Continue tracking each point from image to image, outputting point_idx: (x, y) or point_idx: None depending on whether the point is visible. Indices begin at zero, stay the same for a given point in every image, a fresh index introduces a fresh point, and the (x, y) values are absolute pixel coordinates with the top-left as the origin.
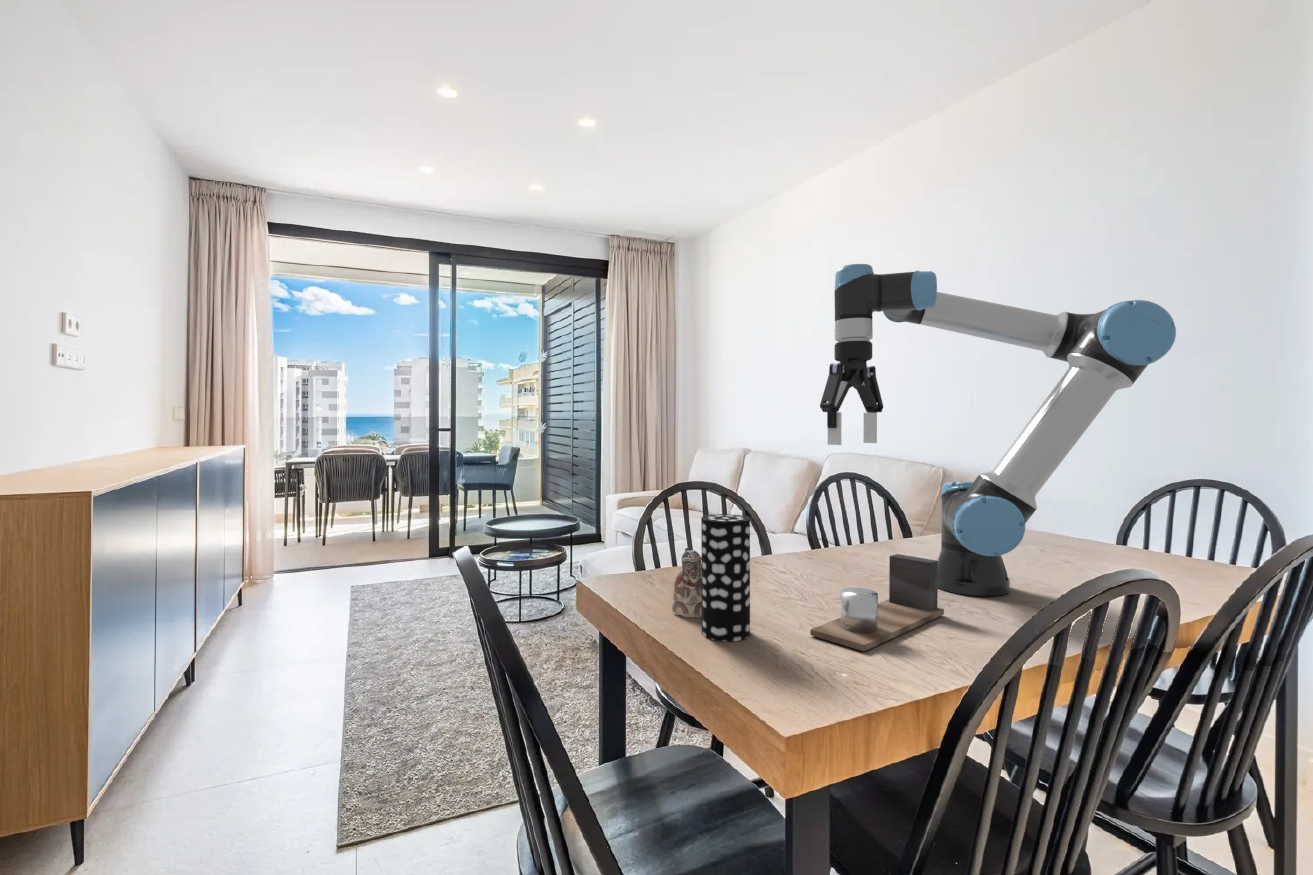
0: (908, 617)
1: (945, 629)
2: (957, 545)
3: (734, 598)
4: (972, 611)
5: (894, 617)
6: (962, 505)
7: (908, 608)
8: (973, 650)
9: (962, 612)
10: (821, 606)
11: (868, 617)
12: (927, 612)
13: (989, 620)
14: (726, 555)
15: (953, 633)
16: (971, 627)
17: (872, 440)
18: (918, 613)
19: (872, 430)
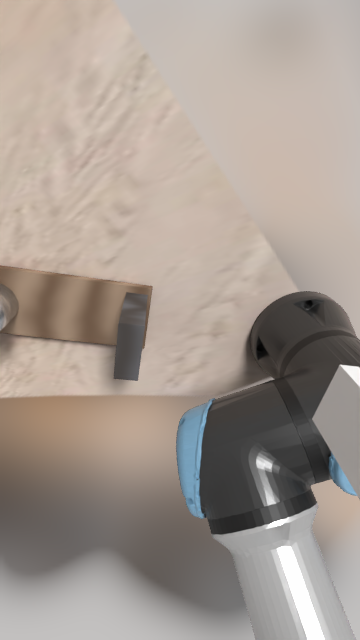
0: (80, 330)
1: (97, 357)
2: (286, 366)
3: None
4: (183, 360)
5: (66, 318)
6: (194, 462)
7: (115, 319)
8: (55, 388)
9: (172, 354)
10: (66, 208)
11: None
12: (116, 339)
13: (161, 378)
14: None
15: (90, 365)
16: None
17: (324, 418)
18: (104, 333)
19: (357, 471)
